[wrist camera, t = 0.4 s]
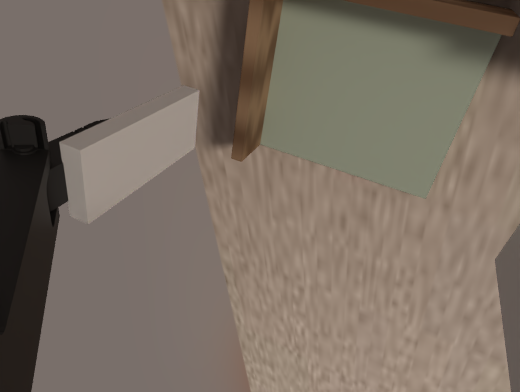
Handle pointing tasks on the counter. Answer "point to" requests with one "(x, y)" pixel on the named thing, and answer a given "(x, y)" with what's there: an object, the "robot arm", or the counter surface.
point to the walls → (412, 3)
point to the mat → (371, 89)
